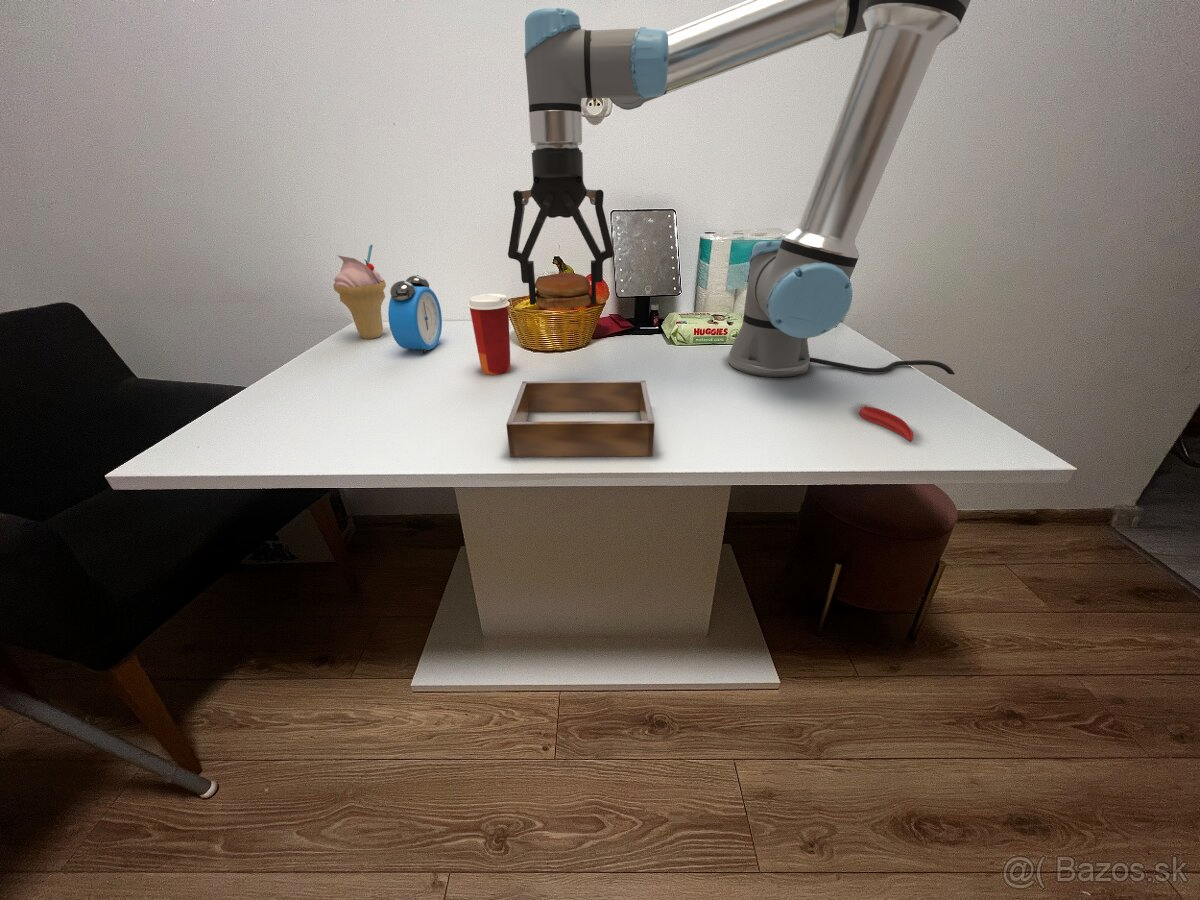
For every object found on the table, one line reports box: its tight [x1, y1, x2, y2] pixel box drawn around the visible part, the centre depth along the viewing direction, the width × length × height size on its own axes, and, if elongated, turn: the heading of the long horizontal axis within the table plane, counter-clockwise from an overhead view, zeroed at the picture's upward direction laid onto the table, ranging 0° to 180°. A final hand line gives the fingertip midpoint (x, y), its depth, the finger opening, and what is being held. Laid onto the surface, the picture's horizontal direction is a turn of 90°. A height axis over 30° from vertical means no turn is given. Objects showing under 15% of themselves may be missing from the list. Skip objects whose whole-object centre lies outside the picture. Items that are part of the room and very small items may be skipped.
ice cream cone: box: [333, 244, 387, 340], centre depth 117 cm, size 11×11×20 cm
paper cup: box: [467, 293, 511, 376], centre depth 97 cm, size 8×8×14 cm
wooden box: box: [506, 380, 655, 458], centre depth 75 cm, size 20×16×5 cm
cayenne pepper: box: [858, 404, 915, 442], centre depth 78 cm, size 12×5×2 cm, turn 0°
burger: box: [535, 272, 592, 309], centre depth 85 cm, size 10×9×5 cm
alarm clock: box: [387, 274, 443, 355], centre depth 109 cm, size 13×6×15 cm, turn 173°
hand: (563, 302), depth 86 cm, fingers closed on burger, 9 cm apart
